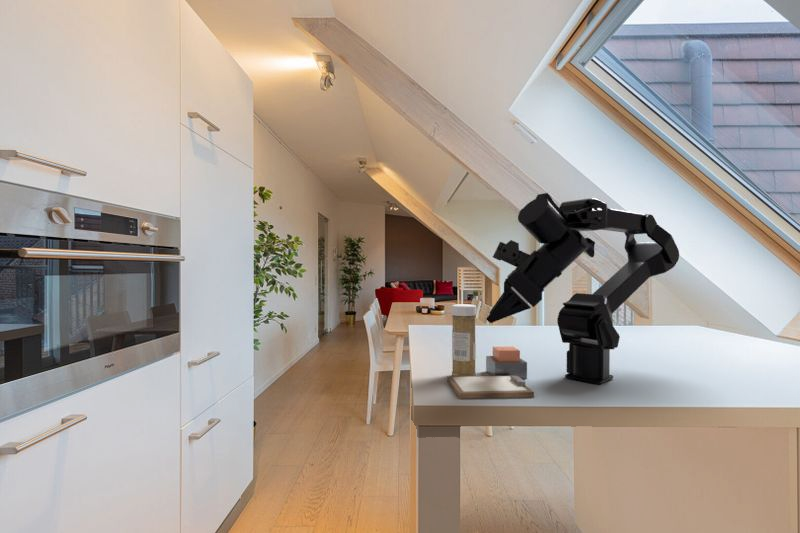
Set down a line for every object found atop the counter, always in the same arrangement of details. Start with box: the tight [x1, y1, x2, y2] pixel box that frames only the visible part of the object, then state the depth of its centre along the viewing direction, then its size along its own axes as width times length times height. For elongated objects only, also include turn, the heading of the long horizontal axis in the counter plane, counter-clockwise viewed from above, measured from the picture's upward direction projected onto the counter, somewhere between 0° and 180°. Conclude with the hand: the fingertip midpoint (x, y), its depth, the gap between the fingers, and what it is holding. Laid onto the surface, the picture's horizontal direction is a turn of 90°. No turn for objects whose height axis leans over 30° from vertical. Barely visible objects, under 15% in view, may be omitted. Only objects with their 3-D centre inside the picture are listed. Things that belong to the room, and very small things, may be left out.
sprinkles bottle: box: [451, 303, 477, 376], centre depth 84 cm, size 5×5×14 cm
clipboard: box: [446, 375, 535, 400], centre depth 76 cm, size 12×10×2 cm
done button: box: [492, 345, 521, 362], centre depth 85 cm, size 4×4×3 cm
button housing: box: [485, 355, 528, 380], centre depth 85 cm, size 6×6×3 cm
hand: (489, 317), depth 82 cm, fingers open, 9 cm apart
